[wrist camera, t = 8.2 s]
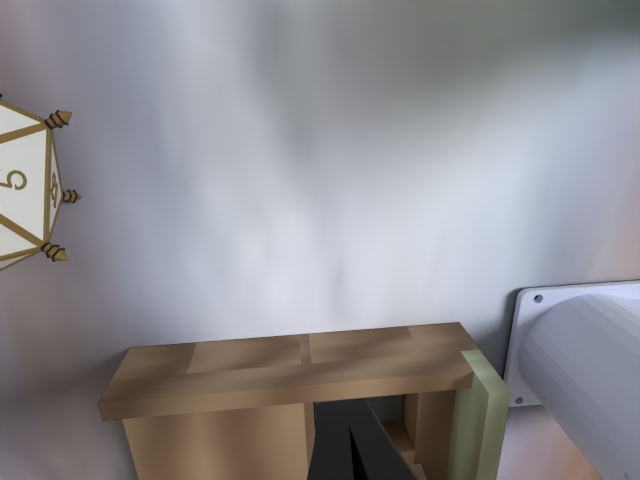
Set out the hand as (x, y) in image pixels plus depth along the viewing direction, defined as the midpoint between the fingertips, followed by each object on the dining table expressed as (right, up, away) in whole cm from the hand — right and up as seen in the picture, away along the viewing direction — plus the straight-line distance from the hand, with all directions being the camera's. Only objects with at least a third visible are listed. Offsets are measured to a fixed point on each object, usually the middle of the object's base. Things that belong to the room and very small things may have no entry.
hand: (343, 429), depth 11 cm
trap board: (-1, -9, +15) cm, 17 cm away
